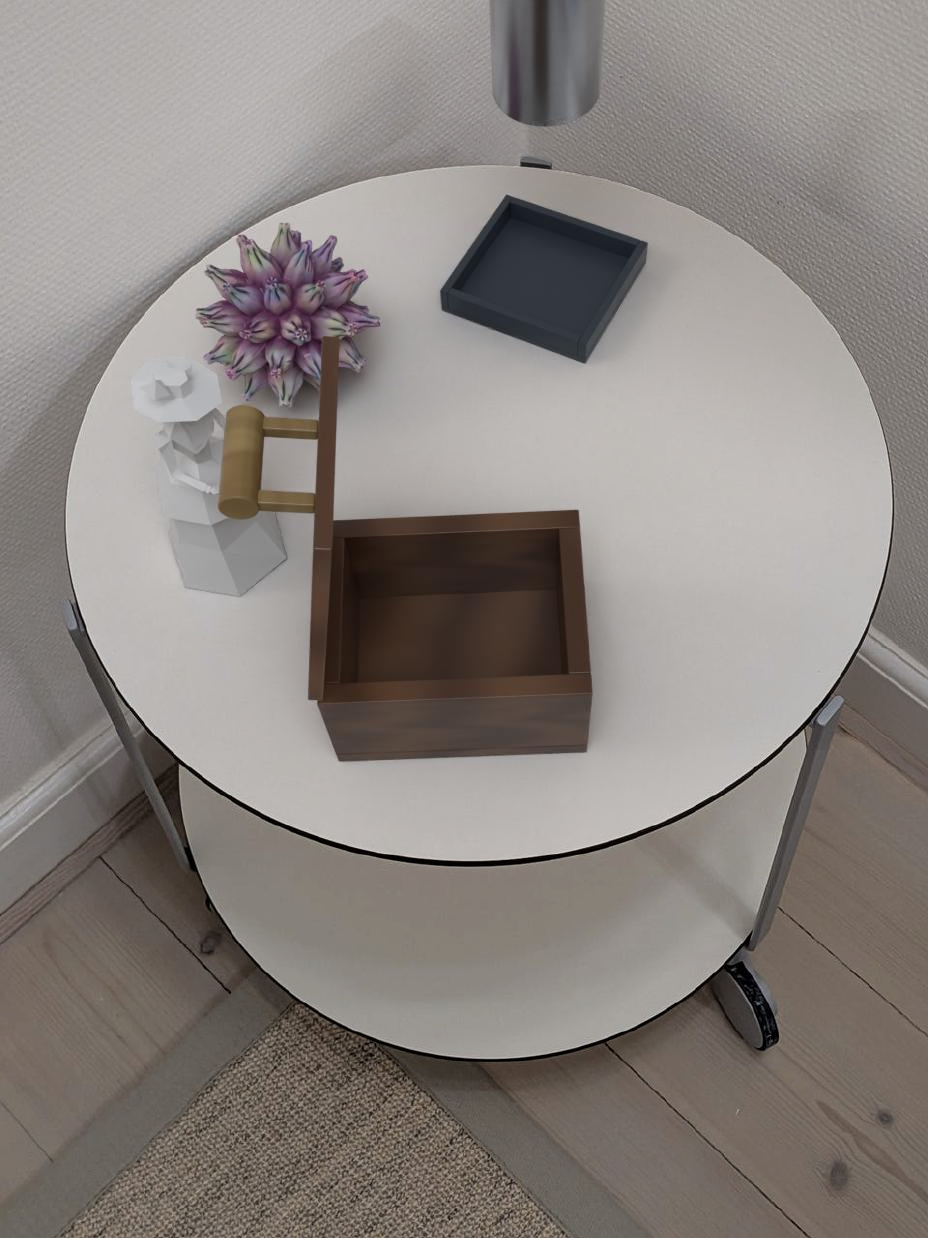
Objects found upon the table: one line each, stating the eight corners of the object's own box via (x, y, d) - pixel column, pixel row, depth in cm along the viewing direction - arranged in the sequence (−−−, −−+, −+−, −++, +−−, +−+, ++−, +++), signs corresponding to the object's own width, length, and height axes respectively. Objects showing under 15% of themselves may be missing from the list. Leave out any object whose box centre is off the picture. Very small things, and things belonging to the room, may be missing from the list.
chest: (574, 581, 77) (578, 508, 70) (586, 752, 72) (592, 693, 64) (343, 591, 77) (323, 520, 70) (338, 762, 72) (316, 704, 65)
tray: (646, 262, 89) (648, 241, 87) (585, 363, 85) (586, 344, 83) (506, 214, 92) (506, 193, 90) (441, 310, 88) (439, 290, 86)
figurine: (274, 601, 77) (208, 426, 61) (151, 584, 78) (55, 407, 62) (301, 507, 80) (245, 318, 65) (183, 492, 81) (99, 302, 66)
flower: (391, 336, 89) (376, 449, 81) (224, 331, 89) (194, 444, 81) (383, 190, 80) (366, 301, 72) (198, 185, 80) (162, 296, 73)
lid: (339, 335, 57) (228, 328, 56) (332, 550, 51) (209, 544, 51) (329, 516, 70) (239, 511, 69) (323, 701, 64) (225, 698, 64)
